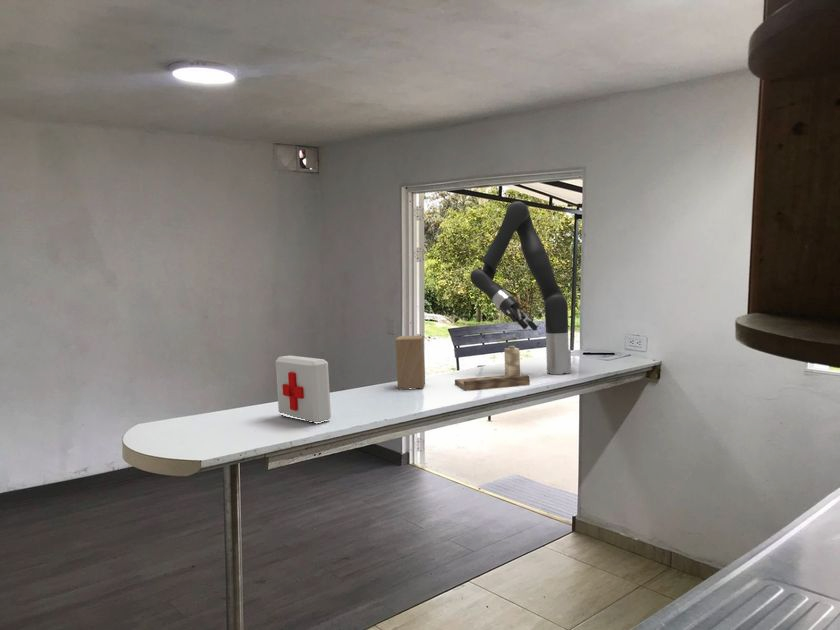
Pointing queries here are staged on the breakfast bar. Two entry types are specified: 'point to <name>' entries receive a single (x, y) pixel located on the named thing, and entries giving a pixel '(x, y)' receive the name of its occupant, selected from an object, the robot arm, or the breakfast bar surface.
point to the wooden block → (410, 362)
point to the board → (488, 386)
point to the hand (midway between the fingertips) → (531, 328)
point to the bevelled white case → (303, 387)
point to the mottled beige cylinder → (512, 361)
